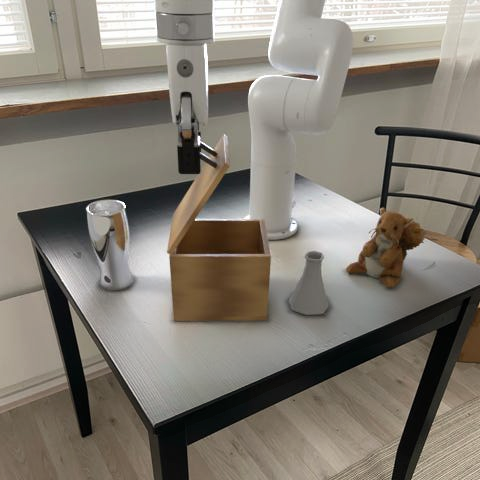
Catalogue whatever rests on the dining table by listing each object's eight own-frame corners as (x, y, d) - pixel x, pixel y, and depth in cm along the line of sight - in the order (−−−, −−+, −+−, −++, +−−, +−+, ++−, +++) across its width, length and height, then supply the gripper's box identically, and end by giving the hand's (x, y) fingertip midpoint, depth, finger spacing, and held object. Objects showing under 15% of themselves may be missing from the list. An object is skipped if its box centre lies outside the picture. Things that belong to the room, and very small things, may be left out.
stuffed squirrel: (342, 273, 98) (352, 211, 90) (380, 250, 106) (392, 190, 98) (386, 293, 92) (401, 229, 85) (423, 267, 101) (440, 205, 93)
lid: (228, 136, 80) (196, 115, 78) (230, 165, 69) (193, 142, 67) (176, 217, 88) (147, 200, 86) (171, 255, 77) (137, 236, 74)
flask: (327, 319, 86) (335, 268, 80) (285, 313, 87) (290, 263, 81) (329, 296, 91) (337, 247, 85) (290, 291, 92) (295, 243, 86)
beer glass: (100, 272, 96) (88, 199, 87) (136, 272, 97) (128, 198, 88) (95, 292, 91) (81, 216, 82) (133, 291, 91) (124, 215, 82)
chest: (260, 278, 96) (264, 218, 89) (266, 320, 85) (271, 256, 77) (178, 278, 95) (174, 218, 88) (173, 321, 84) (169, 256, 77)
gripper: (214, 38, 58) (215, 187, 69) (213, 22, 72) (214, 147, 83) (149, 37, 58) (161, 186, 68) (161, 21, 71) (169, 147, 82)
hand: (190, 164), depth 75 cm, fingers closed on lid, 6 cm apart
